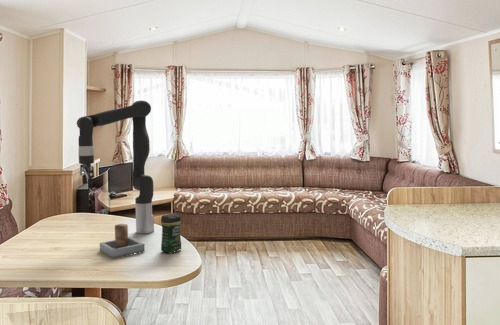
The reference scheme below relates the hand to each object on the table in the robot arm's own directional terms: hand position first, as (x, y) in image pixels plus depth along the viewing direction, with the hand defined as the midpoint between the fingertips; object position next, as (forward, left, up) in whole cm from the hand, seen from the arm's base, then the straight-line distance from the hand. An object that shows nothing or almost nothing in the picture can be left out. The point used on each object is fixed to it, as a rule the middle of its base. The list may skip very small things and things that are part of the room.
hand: (87, 184), depth 225 cm
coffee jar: (-24, +46, -30) cm, 60 cm away
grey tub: (-5, +31, -30) cm, 43 cm away
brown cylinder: (-5, +31, -29) cm, 43 cm away
